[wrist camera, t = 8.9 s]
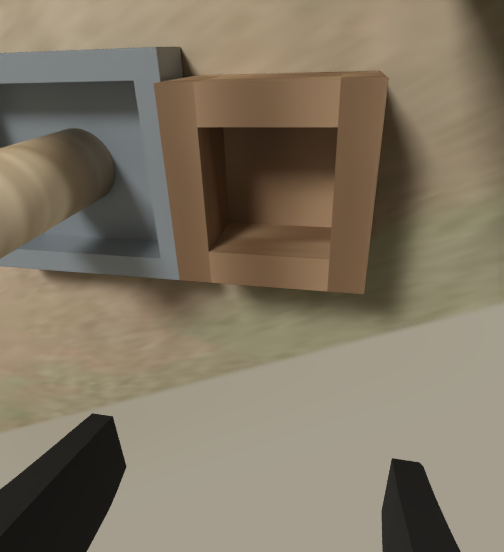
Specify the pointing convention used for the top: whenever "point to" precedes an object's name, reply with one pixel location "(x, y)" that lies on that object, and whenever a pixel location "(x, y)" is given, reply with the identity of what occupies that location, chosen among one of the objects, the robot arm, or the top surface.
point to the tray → (119, 141)
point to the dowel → (50, 183)
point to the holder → (273, 176)
